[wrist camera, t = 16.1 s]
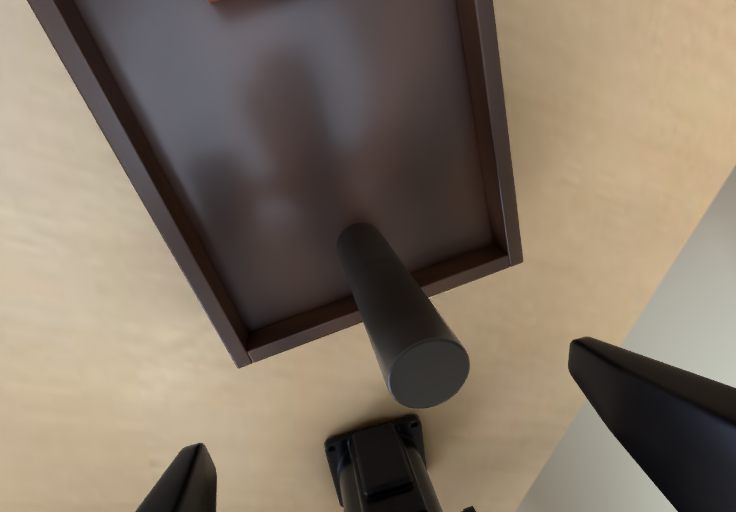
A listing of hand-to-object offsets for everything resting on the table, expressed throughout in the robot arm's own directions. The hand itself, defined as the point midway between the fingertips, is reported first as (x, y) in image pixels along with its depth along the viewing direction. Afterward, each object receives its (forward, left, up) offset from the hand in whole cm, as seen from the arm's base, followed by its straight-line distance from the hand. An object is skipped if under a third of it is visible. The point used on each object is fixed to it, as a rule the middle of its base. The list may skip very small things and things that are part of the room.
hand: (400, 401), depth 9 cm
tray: (+7, 0, -12) cm, 14 cm away
